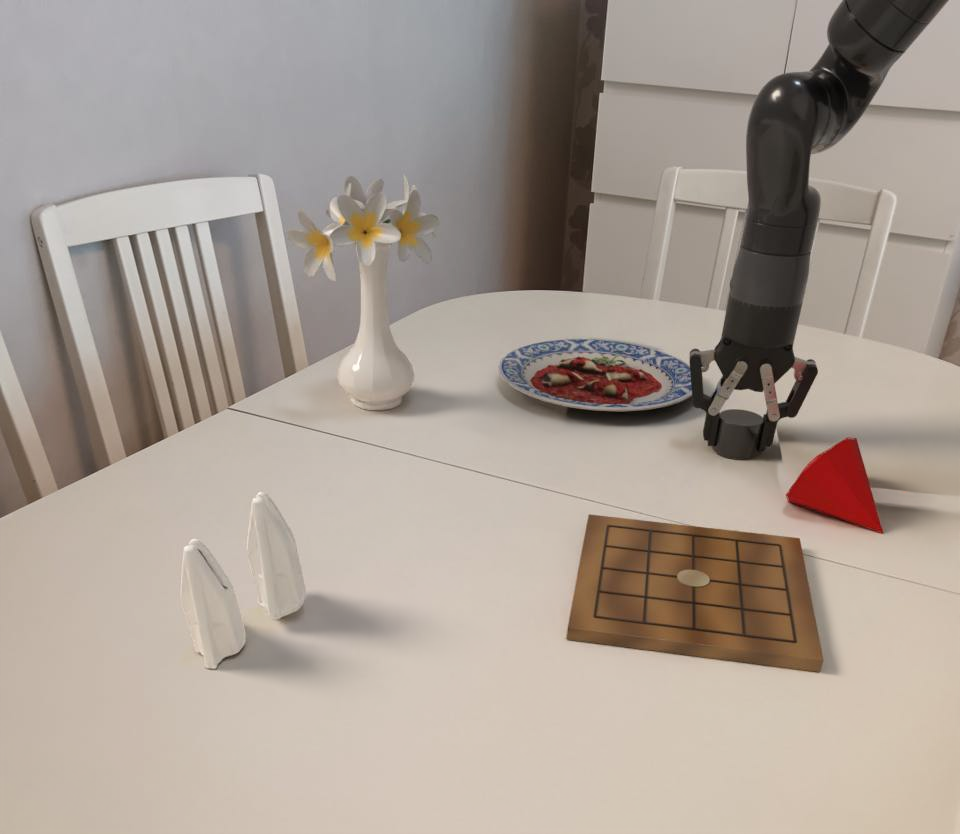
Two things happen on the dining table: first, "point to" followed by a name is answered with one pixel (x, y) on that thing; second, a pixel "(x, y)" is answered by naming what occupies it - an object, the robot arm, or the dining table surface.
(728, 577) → the board
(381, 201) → the flower vase
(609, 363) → the ceramic plate
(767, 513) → the dining table surface
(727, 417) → the dark grey cylinder
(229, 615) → the shaker set
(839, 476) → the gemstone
